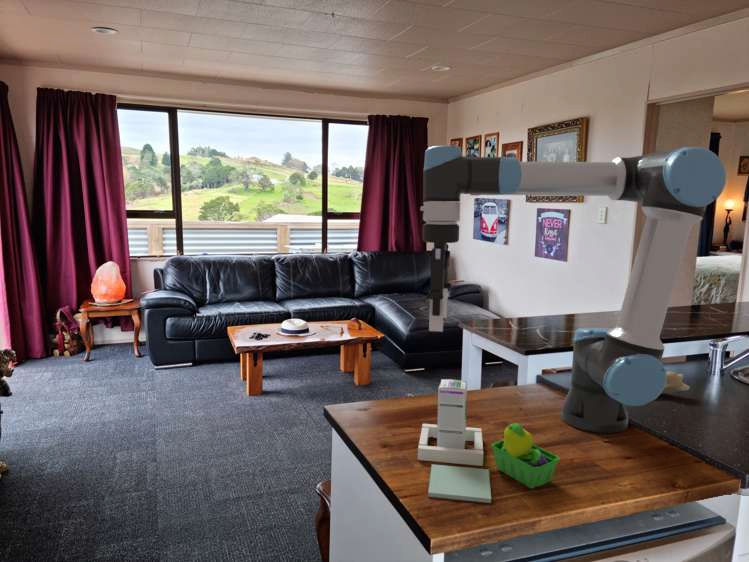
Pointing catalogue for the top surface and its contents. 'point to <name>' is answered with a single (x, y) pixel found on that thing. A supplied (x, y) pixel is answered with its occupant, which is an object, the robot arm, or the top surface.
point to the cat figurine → (674, 383)
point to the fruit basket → (523, 457)
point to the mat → (460, 483)
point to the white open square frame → (451, 453)
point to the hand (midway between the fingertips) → (438, 323)
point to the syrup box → (452, 414)
